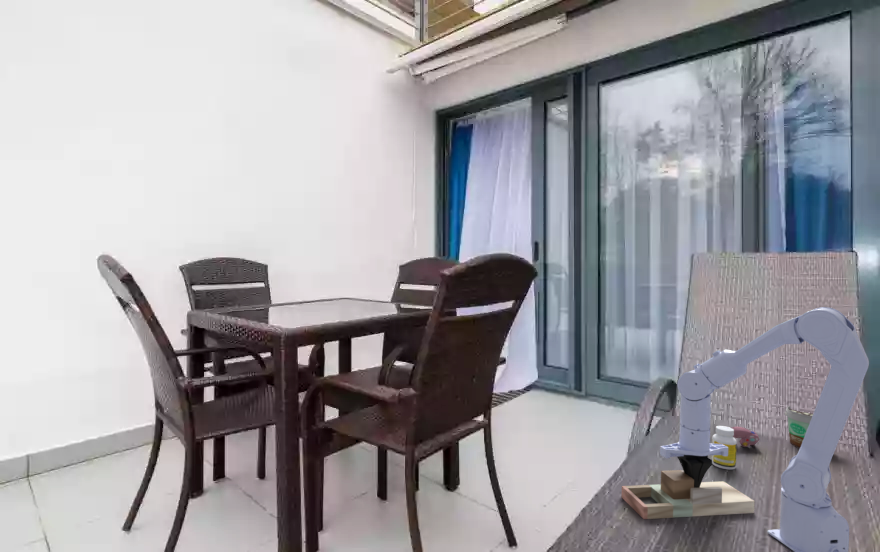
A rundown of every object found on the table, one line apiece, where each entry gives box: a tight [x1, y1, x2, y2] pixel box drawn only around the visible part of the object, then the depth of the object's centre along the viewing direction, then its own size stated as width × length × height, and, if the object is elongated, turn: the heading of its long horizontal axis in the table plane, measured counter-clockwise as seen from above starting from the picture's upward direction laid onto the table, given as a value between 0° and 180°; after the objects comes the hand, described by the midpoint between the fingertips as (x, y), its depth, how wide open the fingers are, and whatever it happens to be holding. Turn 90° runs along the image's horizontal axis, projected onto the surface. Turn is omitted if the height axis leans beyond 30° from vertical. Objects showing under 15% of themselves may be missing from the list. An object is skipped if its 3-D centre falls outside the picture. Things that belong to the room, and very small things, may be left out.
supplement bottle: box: [710, 425, 738, 470], centre depth 116 cm, size 5×5×10 cm
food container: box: [784, 405, 813, 449], centre depth 129 cm, size 12×6×10 cm, turn 25°
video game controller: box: [730, 426, 760, 448], centre depth 129 cm, size 10×5×7 cm, turn 73°
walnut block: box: [660, 469, 694, 500], centre depth 96 cm, size 4×4×4 cm
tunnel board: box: [620, 469, 756, 520], centre depth 96 cm, size 9×25×6 cm, turn 97°
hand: (692, 488), depth 96 cm, fingers closed
